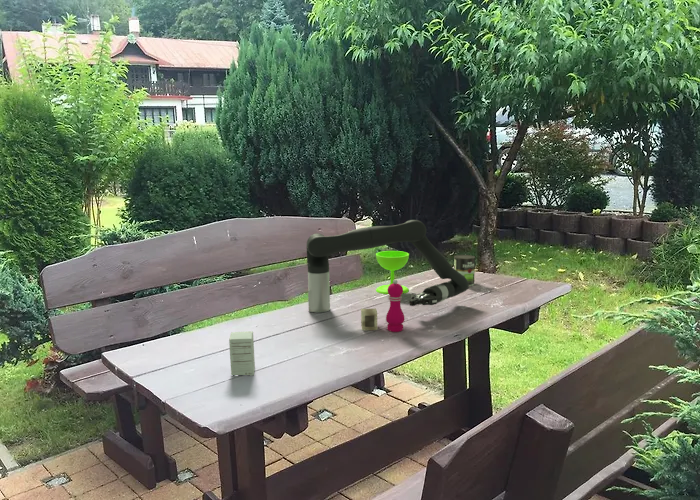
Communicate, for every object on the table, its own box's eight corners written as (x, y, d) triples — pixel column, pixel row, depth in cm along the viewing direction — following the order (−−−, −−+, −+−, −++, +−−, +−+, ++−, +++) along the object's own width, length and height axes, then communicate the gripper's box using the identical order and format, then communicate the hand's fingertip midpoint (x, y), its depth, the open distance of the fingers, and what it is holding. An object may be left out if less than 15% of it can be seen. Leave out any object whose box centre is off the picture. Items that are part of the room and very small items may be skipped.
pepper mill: (403, 332, 237) (403, 282, 233) (384, 331, 238) (384, 281, 234) (405, 327, 244) (405, 277, 240) (387, 326, 245) (387, 277, 241)
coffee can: (478, 285, 306) (479, 257, 304) (460, 287, 303) (461, 259, 300) (467, 280, 316) (468, 253, 313) (449, 282, 312) (450, 255, 309)
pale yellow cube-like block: (362, 330, 240) (361, 313, 239) (361, 325, 247) (361, 308, 245) (377, 330, 240) (377, 313, 239) (376, 325, 247) (376, 308, 245)
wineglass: (415, 291, 297) (416, 254, 294) (389, 296, 288) (389, 258, 285) (395, 284, 310) (395, 249, 307) (369, 289, 301) (369, 253, 298)
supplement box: (232, 368, 204) (230, 331, 202) (255, 367, 205) (253, 330, 203) (230, 376, 197) (228, 339, 195) (253, 375, 198) (252, 338, 195)
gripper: (422, 283, 263) (397, 291, 250) (448, 288, 254) (424, 297, 242) (422, 300, 264) (397, 309, 252) (448, 305, 256) (424, 315, 243)
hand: (411, 303), depth 247 cm, fingers closed
